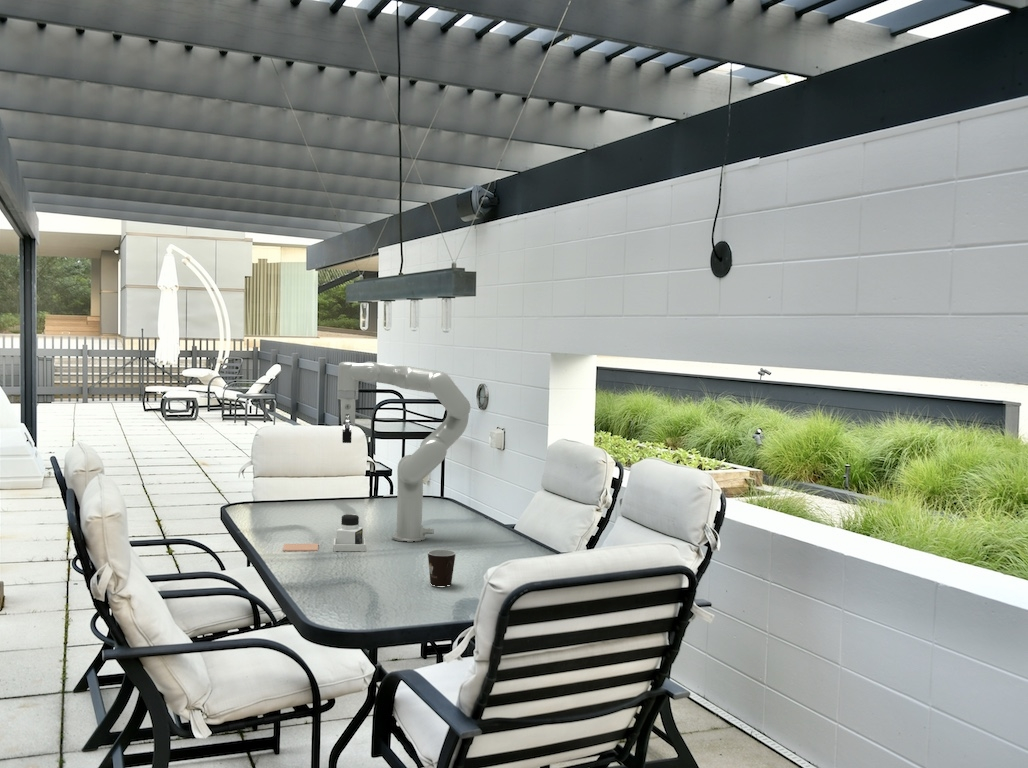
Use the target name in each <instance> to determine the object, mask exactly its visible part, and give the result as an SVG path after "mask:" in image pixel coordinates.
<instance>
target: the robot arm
mask: <svg viewBox="0 0 1028 768" xmlns="http://www.w3.org/2000/svg"><path fill="white" fill-rule="evenodd" d="M337 374H338V375H337V400H340V421H341V426H342V427H343V429H342V435H341V436H342V438H341V439H342V441H341V442H342V444H351V443H352V427H355V426H356V400H359V382H363V383H379V384H384V385H391V386H395V387H397V388H401V389H404V390H409V391H410V390H411V391H418V392H425V393H431V394H433V395H434V396H435V398H436V399H437V400H438V401H439V402H440V404H442V406H443V408H445V410H446V412H447V413H446V417H445V419H444V420H443V421H442V423H441V424H439V425H438V427H437V428H436V429H434V430H433V431H432V432H431V433H430V434H428V436H426V437H425V438H424V439H423V440H422V441H421V442H420V445H419V447H418V449H416V450H415V451H414V452H413V453H412V454H407V455H405V456H403V457H402V458H401V459H400V460H399V462H398V464H397V492H396V493H397V495H396V496H397V498H396V531H395V533H393V534H392V535H391V538H392V540H394V541H398V542H403V541H407V543H410V542H411V543H413V541H415V542H422V541H424V540H426V537H427V536H426V535H434V534H435V529H434V528H431V527H430V528H425V527H423V502H424V501H423V499H424V498H423V497H424V479H426V477H427V476H428V475H430V473H432V472H433V471H434V470H435V469H436V468H437V467H438V466H439V465H440V464H441V463H442V462H443V461H444V460H445V458H446V456H447V452H448V449H449V448H451V446H452V445H453V444H454V443H456V442H457V440H459V438H460V437H461V436H462V435H463V434H464V432H465V431H466V428H467V426H468V422H469V416H470V412H471V402H470V401H469V399H468V398H467V397H466V396H465V395H464V393H463V392H462V391H461V390H460V388H459V386H457V385H456V383H455V382H454V380H452V378H451V377H450V375H448V374H447V373H446V372H444V371H439V370H434V369H426V368H420V367H416V366H407V365H397V364H396V365H395V364H389V363H388V364H387V363H382V362H375V361H365V362H356V361H342V362H339V363H338V368H337ZM421 540H422V541H421Z"/></svg>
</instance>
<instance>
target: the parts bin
mask: <svg viewBox="0 0 1028 768" xmlns="http://www.w3.org/2000/svg"><path fill="white" fill-rule="evenodd" d="M333 539H334V540H333V551H365V552H366V537H362V544H337V537H334V538H333Z"/></svg>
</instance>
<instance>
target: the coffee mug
mask: <svg viewBox="0 0 1028 768" xmlns="http://www.w3.org/2000/svg"><path fill="white" fill-rule="evenodd" d="M456 554H457V552H456V551H454V550H452V549H451V550H450V549H431V550H429V551H428V552H427V559H428V570H429V581H430V582H429V583H431V584H432V585H435V586H447V585H451V586H452V582H453V574H454V567H455V561H456V560H455V559H456ZM431 584H430V585H431Z"/></svg>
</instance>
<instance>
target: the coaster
mask: <svg viewBox="0 0 1028 768" xmlns="http://www.w3.org/2000/svg"><path fill="white" fill-rule="evenodd" d="M318 545H319V543H284V545H283V548H282V549H281V550H282V551H319V546H320V545H319V546H318Z"/></svg>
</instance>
